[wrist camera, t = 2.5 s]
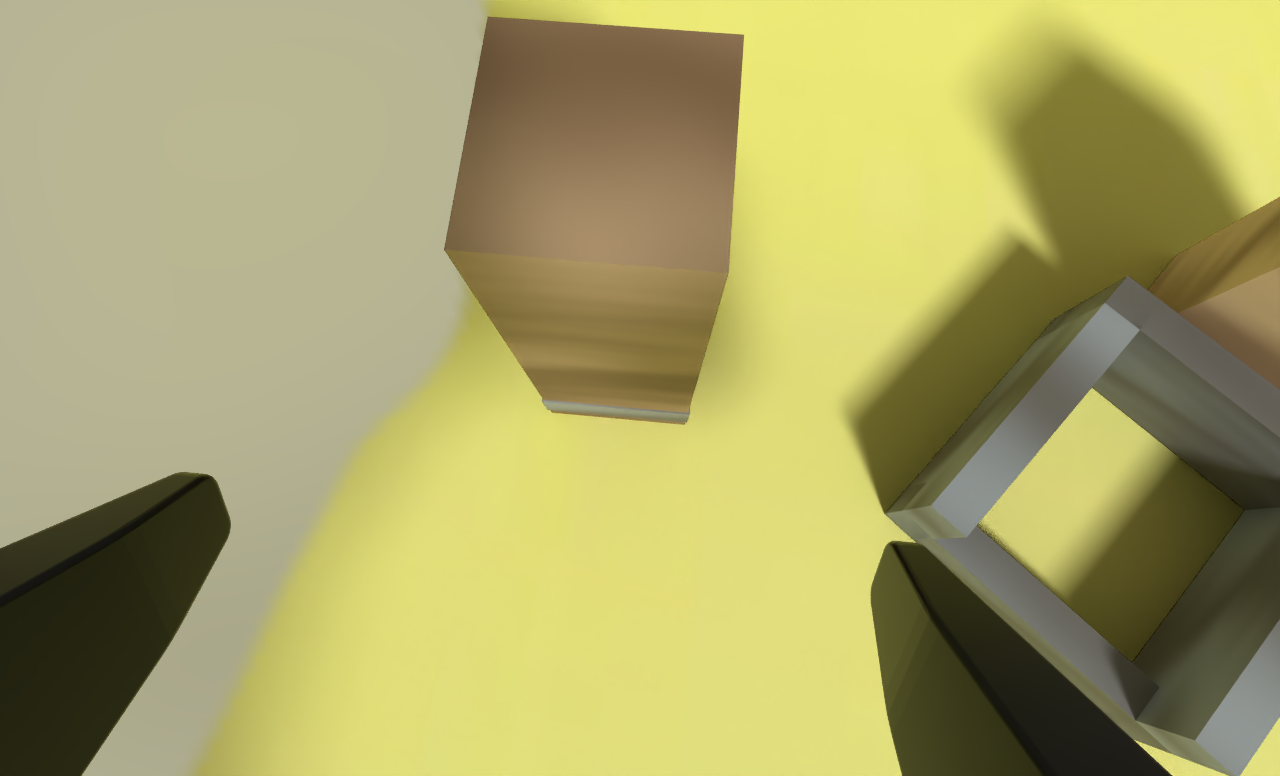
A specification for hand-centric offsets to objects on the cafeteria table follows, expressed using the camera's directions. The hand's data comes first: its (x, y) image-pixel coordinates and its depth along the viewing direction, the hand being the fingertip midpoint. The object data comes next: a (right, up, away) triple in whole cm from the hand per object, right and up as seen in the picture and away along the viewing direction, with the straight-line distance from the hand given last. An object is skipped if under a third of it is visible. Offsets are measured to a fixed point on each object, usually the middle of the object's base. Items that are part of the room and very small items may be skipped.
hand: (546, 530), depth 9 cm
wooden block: (+1, +3, +14) cm, 14 cm away
